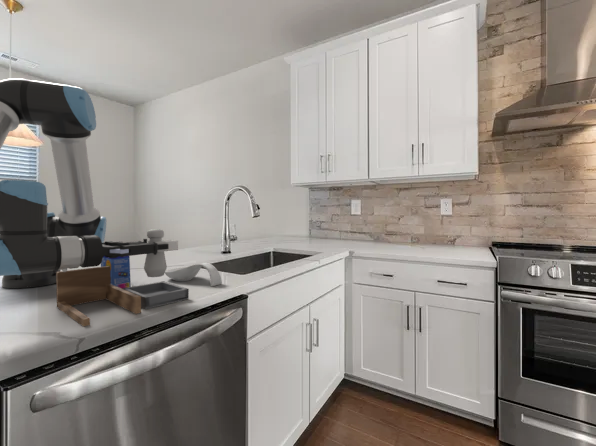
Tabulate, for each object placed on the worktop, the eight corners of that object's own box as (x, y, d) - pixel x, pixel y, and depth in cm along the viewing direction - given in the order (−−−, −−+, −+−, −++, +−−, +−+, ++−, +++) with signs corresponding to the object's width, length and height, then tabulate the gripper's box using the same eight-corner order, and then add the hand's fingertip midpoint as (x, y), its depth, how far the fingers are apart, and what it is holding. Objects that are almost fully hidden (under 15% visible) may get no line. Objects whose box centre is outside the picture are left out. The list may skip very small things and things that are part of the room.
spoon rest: (157, 280, 111) (157, 260, 111) (184, 274, 121) (184, 256, 121) (204, 289, 99) (204, 267, 99) (230, 282, 109) (230, 262, 109)
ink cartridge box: (99, 287, 99) (99, 242, 98) (118, 284, 103) (118, 241, 102) (111, 293, 92) (111, 244, 92) (131, 289, 97) (131, 243, 96)
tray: (122, 298, 87) (122, 288, 87) (163, 290, 96) (163, 281, 96) (145, 309, 78) (145, 297, 78) (188, 299, 88) (188, 288, 87)
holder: (56, 307, 79) (56, 271, 78) (108, 297, 88) (108, 265, 88) (83, 326, 66) (82, 284, 66) (140, 312, 75) (140, 276, 75)
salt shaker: (142, 278, 83) (142, 230, 83) (144, 274, 88) (144, 228, 88) (166, 277, 85) (166, 229, 85) (167, 273, 90) (166, 228, 90)
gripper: (69, 264, 78) (160, 255, 96) (91, 272, 68) (189, 260, 86) (68, 234, 77) (160, 230, 96) (91, 237, 67) (189, 233, 86)
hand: (173, 244), depth 91 cm, fingers closed on salt shaker, 3 cm apart
